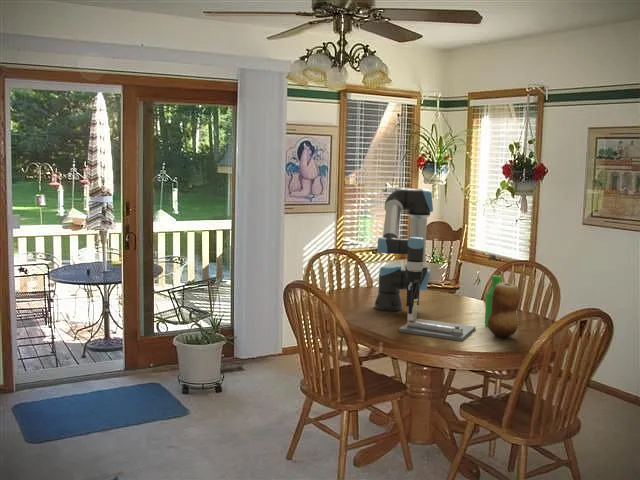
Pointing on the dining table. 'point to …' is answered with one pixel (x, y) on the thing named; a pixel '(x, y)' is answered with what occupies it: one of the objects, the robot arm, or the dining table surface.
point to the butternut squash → (504, 310)
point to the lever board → (435, 333)
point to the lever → (432, 326)
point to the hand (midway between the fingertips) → (411, 319)
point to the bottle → (489, 297)
